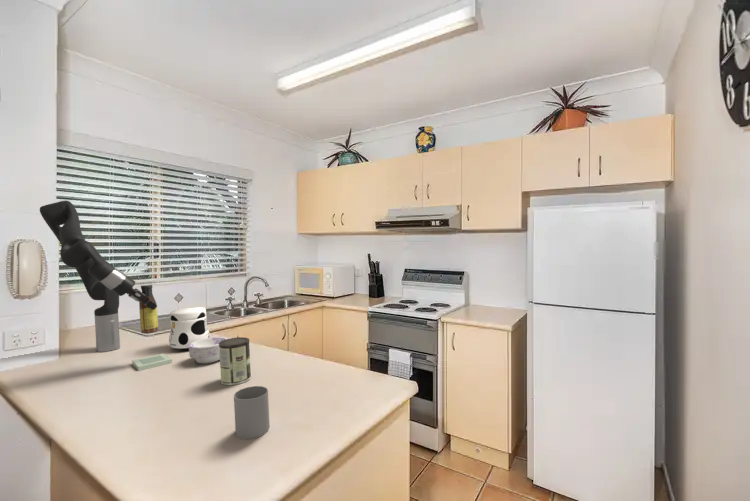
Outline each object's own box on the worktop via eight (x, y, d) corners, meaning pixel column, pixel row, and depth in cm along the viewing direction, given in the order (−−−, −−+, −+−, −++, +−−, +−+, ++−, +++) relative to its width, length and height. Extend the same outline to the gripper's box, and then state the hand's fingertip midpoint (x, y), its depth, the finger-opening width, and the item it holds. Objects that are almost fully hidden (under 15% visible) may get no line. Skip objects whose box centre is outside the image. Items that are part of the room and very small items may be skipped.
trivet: (132, 364, 150) (131, 360, 150) (164, 356, 159) (163, 353, 159) (138, 370, 142) (138, 366, 142) (172, 362, 150) (171, 359, 150)
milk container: (162, 349, 171) (160, 311, 170) (198, 340, 185) (196, 305, 184) (181, 354, 161) (179, 315, 160) (217, 344, 175) (215, 308, 175)
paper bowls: (181, 364, 148) (180, 345, 148) (210, 353, 162) (209, 335, 162) (208, 368, 142) (207, 348, 142) (236, 356, 156) (235, 338, 156)
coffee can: (236, 373, 136) (234, 336, 135) (257, 376, 131) (255, 338, 131) (213, 383, 126) (212, 343, 126) (235, 387, 122) (233, 346, 122)
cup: (241, 423, 97) (239, 387, 97) (272, 421, 98) (270, 385, 98) (231, 440, 89) (229, 401, 89) (265, 438, 89) (263, 398, 89)
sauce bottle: (161, 330, 152) (160, 283, 152) (151, 334, 146) (149, 285, 146) (147, 330, 153) (146, 284, 153) (136, 334, 147) (134, 285, 146)
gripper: (106, 287, 145) (142, 312, 154) (113, 290, 135) (150, 316, 144) (122, 273, 149) (155, 298, 158) (129, 275, 139) (165, 301, 147)
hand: (153, 306), depth 151 cm, fingers closed on sauce bottle, 6 cm apart
